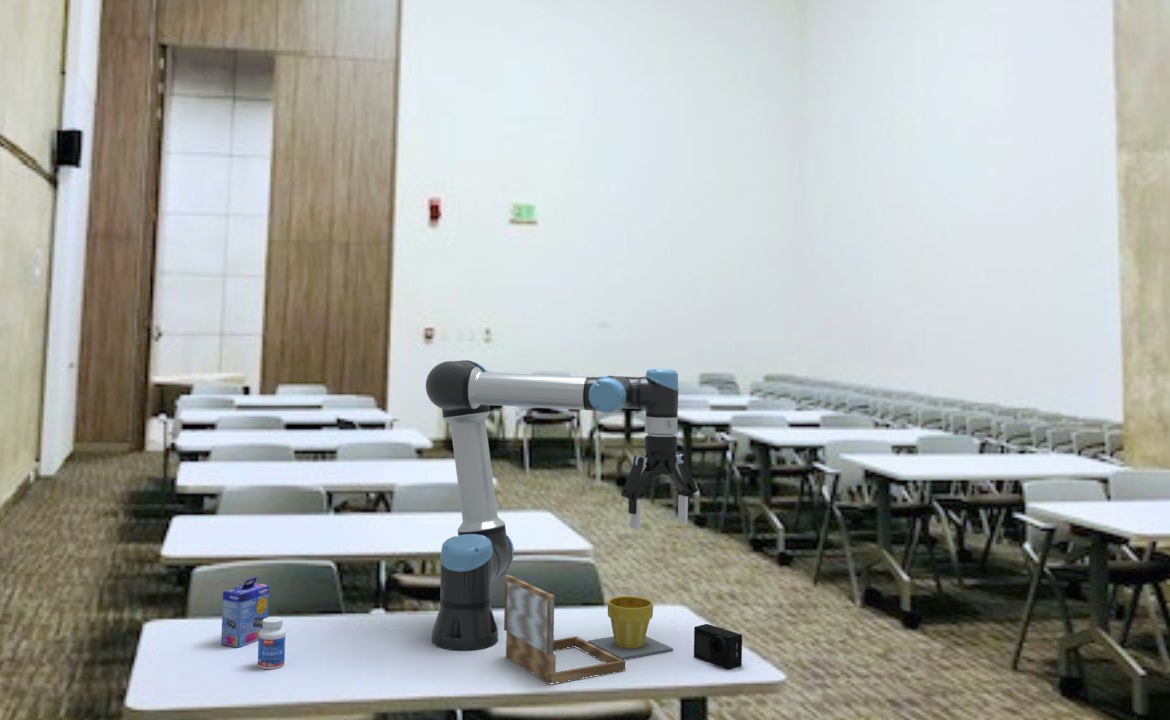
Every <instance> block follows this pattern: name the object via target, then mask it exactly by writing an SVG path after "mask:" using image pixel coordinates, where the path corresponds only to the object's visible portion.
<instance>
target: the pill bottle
mask: <svg viewBox="0 0 1170 720" xmlns="http://www.w3.org/2000/svg"><path fill="white" fill-rule="evenodd" d="M283 621H284V619H283V618H282V617H280V616H279V617H278V616H271V617H269V616H268V618H265V619H263V628H264V629H262V630H261V631H260V632H259V639H258V640H257V643H258V645H257V651H258V652H257V666H258V668H259V669H263V670H276V669H280V668H281V667H283V666H284V665H285V662H286V661H285V658H286V655H285V654H286V630H285V629H284V628H282V627H283V623H284V622H283Z"/></svg>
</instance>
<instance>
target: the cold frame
mask: <svg viewBox="0 0 1170 720" xmlns="http://www.w3.org/2000/svg"><path fill="white" fill-rule="evenodd" d="M503 610H504V614H503V615H504V617H503V619H504V621H503V622H504V624H503V625H504V626H503V630H504V631H505V632H506V633H505V635H506V640H505V641H506V643H505V644H506V645H505V646H506V647H505V648H506V649H505V657H506V658H507V659H508V660H510V661H512V662H514V663H515V664H517V665H518V664H519V666H520V667H522V668H523V667H524V669H525V668H526V669H527V670H526V669H525V670H526V671H528V670H529V671H528V672H530V673H531V672H533V673H534V674H536V675H537V676H536V675H535V676H536V677H538V676H539V677H540V678H539V677H538V678H539V679H541V678H542V679H544V680H545V681H544V680H543V681H544V682H546V681H547V682H549V683H556V682H563V681H568V680H574V679H579V680H581V679H580V678H583V677H584V679H586V678H585V677H590V676H595V675H600V676H603V675H602V674H605V675H608V674H607V673H611V674H614V673H613V672H616V673H620V672H619V671H621V672H624V671H623V670H625V671H626V660H622V659H620V658H618V657H616V656H614V655H612V654H610V653H608V652H606V651H604V650H602V649H600V648H598V647H596V646H594V645H593V644H591V643H589V642H588V640H587V641H586V640H585V639H583V638H580V637H578V636H572V637H571V636H570V637H564V638H559V639H558V638H557V639H554V638H555V637H554V635H555V633H554V632H555V630H554V629H555V628H554V627H555V595H554V594H552V593H549V592H547V591H545V590H543V589H541V588H539V587H536V586H535V585H533V584H530V583H529V582H526V581H524V580H521V579H519V578H517V577H515V576H513V575H510V574H507V575H506V574H504V609H503ZM572 646H576V647H578V648H580V649H582V650H584V651H585V652H588V653H589V654H591V655H593V656H595V657H596V658H595V657H594V658H595V659H597V658H599V659H600V660H599V659H598V660H599V661H601V660H602V661H604V662H606V663H604V662H603V663H599V664H594V665H589V666H582V667H577V668H571V669H566V670H561V671H559V670H558V671H556V669H557V668H556V666H557V665H556V661H557V654H556V653H555V652H554V651H557V650H556V649H560V650H564V649H563V648H566V649H568V648H567V647H572ZM576 647H575V648H576ZM572 648H573V647H572ZM578 648H577V649H578ZM580 649H579V650H580ZM553 650H554V651H553ZM582 650H581V651H582ZM584 651H583V652H584ZM585 652H584V653H585ZM589 654H588V655H589ZM591 655H590V656H591ZM593 656H592V657H593ZM602 661H601V662H602ZM533 673H532V674H533ZM534 674H533V675H534ZM595 677H596V676H595ZM590 678H591V677H590ZM542 679H541V680H542ZM574 681H575V680H574ZM547 682H546V683H547ZM568 682H569V681H568ZM549 683H548V684H549ZM563 683H564V682H563Z"/></svg>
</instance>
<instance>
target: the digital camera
mask: <svg viewBox="0 0 1170 720" xmlns="http://www.w3.org/2000/svg"><path fill="white" fill-rule="evenodd" d="M693 633H694V634H693V658H694V659H697V660H700V661H703V662H705V663H708V664H710V665H714V666H717V667H720V668H723V669H726V670H732V669H736V668H739V667H742V664H743V663H742V661H743V660H742V659H743V657H742V656H743V634H741V633H738V632H735V631H732V630H728V629H725V628H722V627H719V626H714V625H711V624H709V623H704V624H701V625H697V626H694V629H693Z"/></svg>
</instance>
